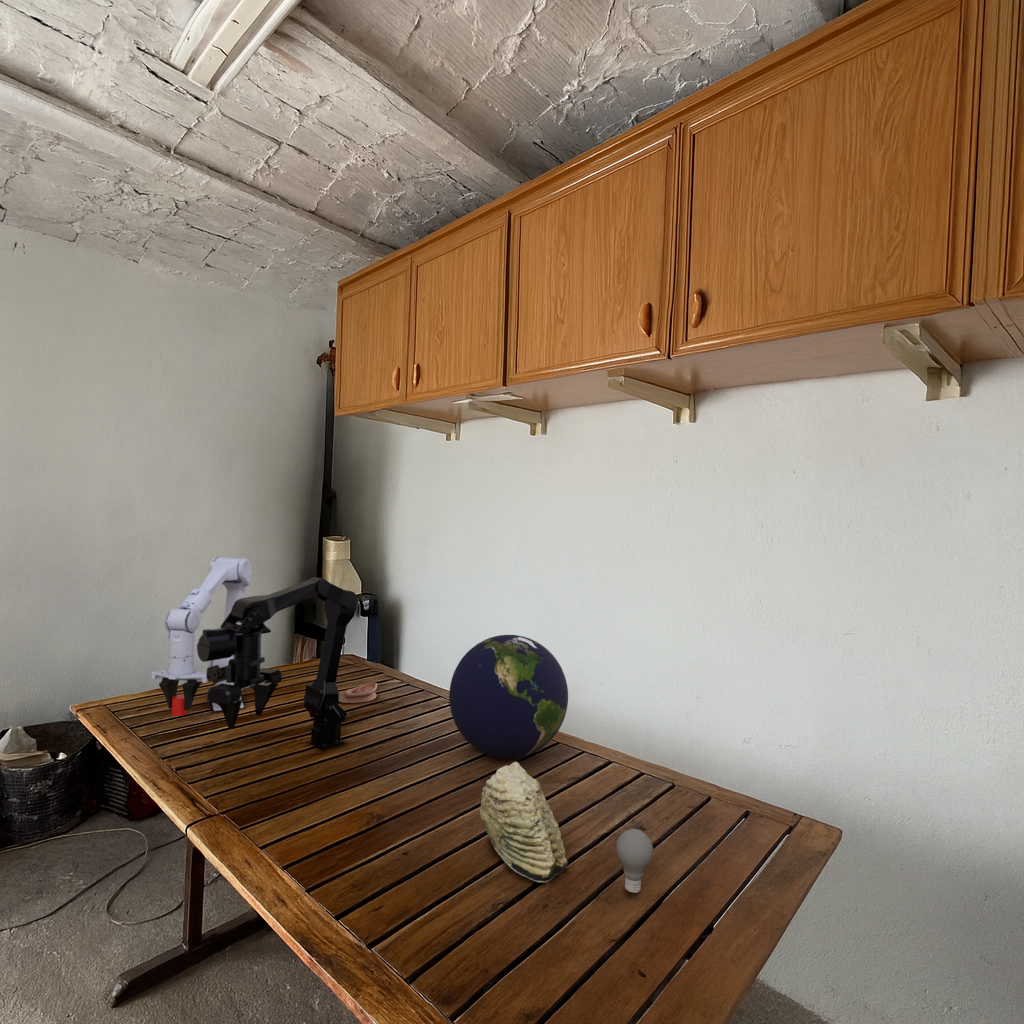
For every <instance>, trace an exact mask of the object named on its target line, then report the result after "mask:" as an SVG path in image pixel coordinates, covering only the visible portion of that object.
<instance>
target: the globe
mask: <svg viewBox="0 0 1024 1024" xmlns="http://www.w3.org/2000/svg"><path fill="white" fill-rule="evenodd" d="M449 684H450V685H449V694H448V697H449V700H448V701H449V708H450V712H451V713H450V714H451V716H452V719H453V722H454V724H455V726H456V728H457V730H458V731H459V733H460V735H461V736H462V737H463V738H464V739H465V741H467V743H468V744H470V745H471V746H472V747H473V748H475V749H476V750H477V751H480V752H481V753H483V754H485V755H488V756H491V757H493V758H498V759H507V760H508V759H509V760H511V759H521V758H525V757H527V756H530V755H533V754H534V753H537V752H538V751H540V750H541V749H543V748H544V747H546V746H547V745H548V744H549V743H550V742H551V741H552V740H553V738H555V736H556V735H557V734H558V732H559V731H560V728H561V727H562V725H563V723H564V720H565V719H566V715H567V711H568V705H569V689H568V687H569V686H568V683H567V679H566V674H565V673H564V670H563V668H562V666H561V664H560V663H559V661H558V660H557V658H556V657H555V655H554V654H552V652H551V651H550V650H549V649H548V648H547V647H545V646H544V645H542V644H541V643H539V642H538V641H536V640H534V639H532V638H530V637H526V636H523V635H517V634H501V635H494V636H491V637H488V638H486V639H483V640H482V641H480V642H478V643H476V644H475V645H474V646H473V647H471V648H470V649H469V650H468V651H467V652H466V653H465V654H464V655H463V657H461V659H460V660H459V662H458V663H457V666H456V667H455V669H454V671H453V673H452V678H451V681H450V683H449Z"/></svg>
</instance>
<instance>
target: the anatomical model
mask: <svg viewBox="0 0 1024 1024" xmlns="http://www.w3.org/2000/svg"><path fill="white" fill-rule="evenodd" d="M377 688H378V683H377V682H370V683H366V684H363V685H359V686H356V687H353V688H349V689H346V690H343V691H340V692H339V703H342V704H344V703H345V704H355V703H357V704H358V703H366V702H370V701H374V700H375V699H376V698H377V696H378V695H377V693H376V691H377Z"/></svg>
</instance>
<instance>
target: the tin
mask: <svg viewBox="0 0 1024 1024" xmlns="http://www.w3.org/2000/svg"><path fill="white" fill-rule="evenodd" d="M188 713H189V709H188V710H184V694H177V695H176V696H173V697H172V709H171V716H173V717H181V716H185V715H187V714H188Z"/></svg>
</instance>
